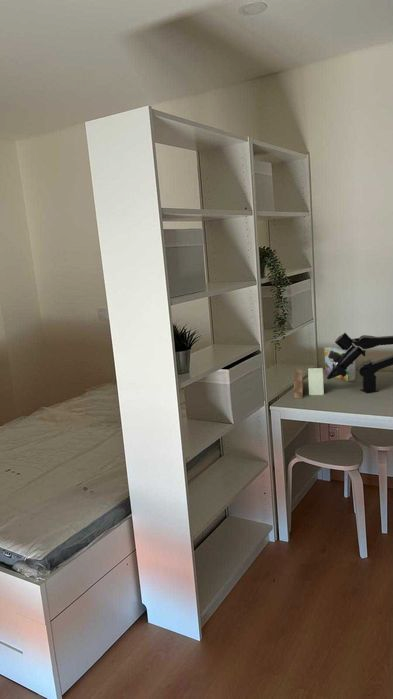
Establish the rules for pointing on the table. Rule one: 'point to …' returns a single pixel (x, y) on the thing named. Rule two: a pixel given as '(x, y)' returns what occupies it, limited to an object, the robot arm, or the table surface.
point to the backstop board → (298, 384)
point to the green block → (315, 381)
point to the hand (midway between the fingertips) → (327, 378)
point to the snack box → (328, 363)
